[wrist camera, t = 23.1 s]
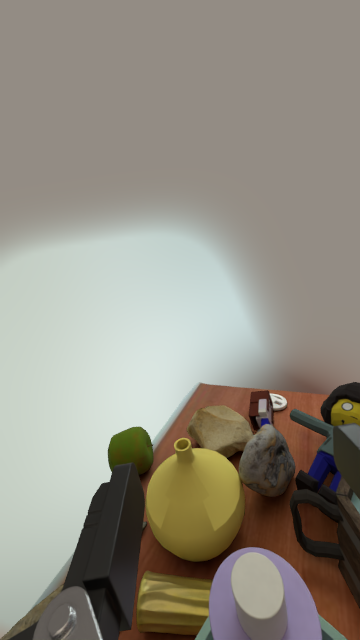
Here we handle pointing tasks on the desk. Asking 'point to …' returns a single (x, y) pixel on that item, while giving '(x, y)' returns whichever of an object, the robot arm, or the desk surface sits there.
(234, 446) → the stone
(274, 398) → the pendant
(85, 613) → the robot arm
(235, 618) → the detergent bottle
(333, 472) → the toy
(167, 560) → the desk surface
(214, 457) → the vase
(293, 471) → the stone
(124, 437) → the apple
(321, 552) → the mug
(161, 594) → the vase
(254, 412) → the toy
